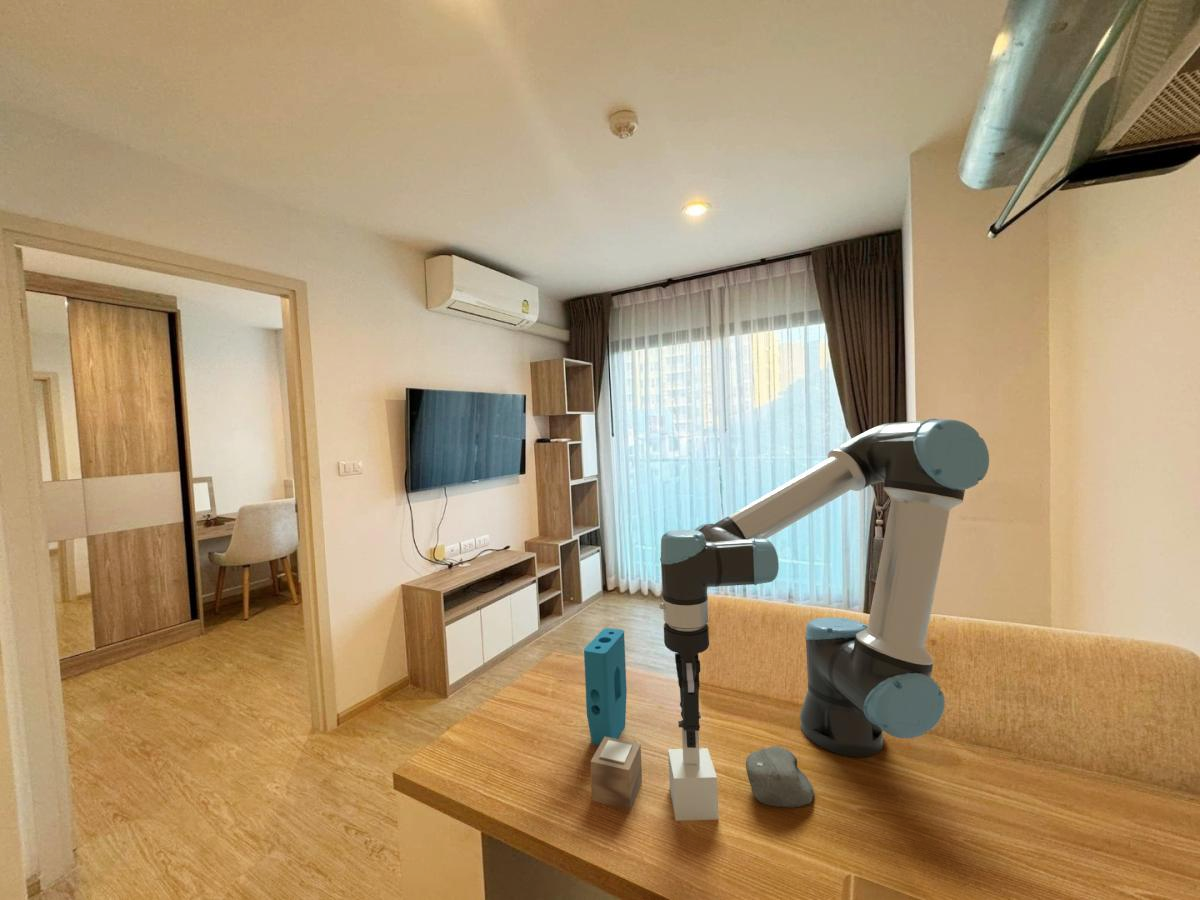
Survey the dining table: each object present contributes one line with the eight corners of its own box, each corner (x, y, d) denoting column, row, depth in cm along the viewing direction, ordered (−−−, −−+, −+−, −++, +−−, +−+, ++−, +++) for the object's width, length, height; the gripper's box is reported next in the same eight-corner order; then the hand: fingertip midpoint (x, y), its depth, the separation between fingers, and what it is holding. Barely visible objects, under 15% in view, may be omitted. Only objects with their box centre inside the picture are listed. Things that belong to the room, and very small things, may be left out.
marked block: (642, 781, 82) (640, 742, 82) (630, 811, 76) (628, 768, 76) (606, 773, 85) (604, 734, 85) (592, 801, 78) (590, 759, 78)
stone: (824, 818, 73) (792, 760, 73) (774, 837, 74) (742, 780, 75) (810, 777, 81) (781, 726, 82) (765, 795, 83) (736, 745, 84)
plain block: (709, 787, 80) (707, 748, 80) (718, 820, 73) (717, 777, 73) (669, 788, 80) (668, 749, 80) (675, 821, 73) (673, 778, 73)
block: (609, 753, 90) (605, 654, 90) (586, 748, 92) (582, 650, 92) (629, 719, 101) (625, 630, 101) (608, 714, 103) (604, 627, 103)
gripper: (662, 608, 83) (667, 735, 84) (664, 639, 70) (670, 788, 71) (703, 608, 83) (708, 736, 83) (713, 639, 70) (719, 790, 70)
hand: (691, 760), depth 77 cm, fingers closed
